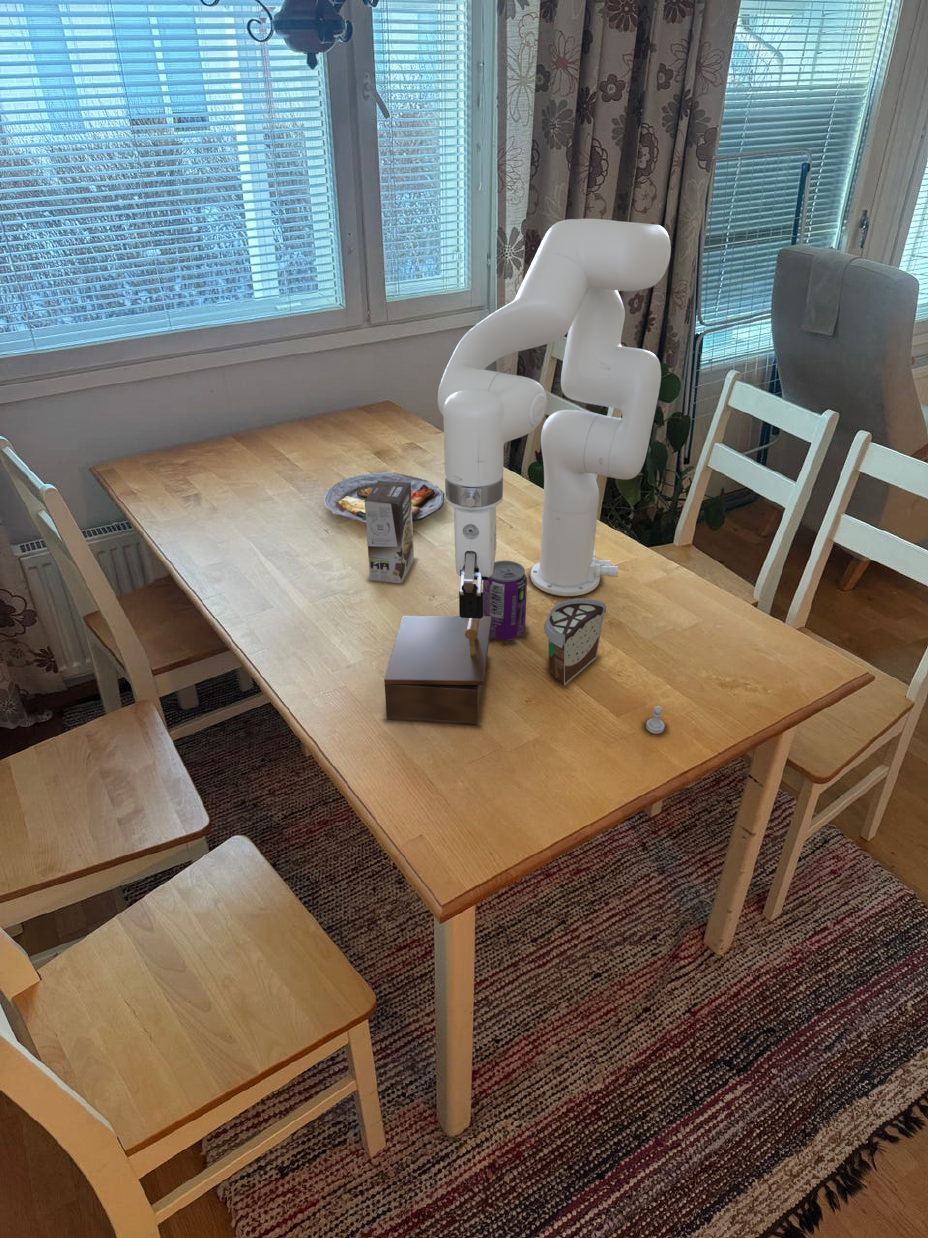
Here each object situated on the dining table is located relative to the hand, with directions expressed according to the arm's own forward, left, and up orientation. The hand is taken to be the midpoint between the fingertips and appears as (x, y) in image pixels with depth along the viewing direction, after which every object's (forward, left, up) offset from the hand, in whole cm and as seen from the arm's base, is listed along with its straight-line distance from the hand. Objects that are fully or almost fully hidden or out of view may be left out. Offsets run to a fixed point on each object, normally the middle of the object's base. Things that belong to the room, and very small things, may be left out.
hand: (474, 597), depth 120 cm
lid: (+5, 0, -9) cm, 11 cm away
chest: (+5, 0, -17) cm, 17 cm away
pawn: (-27, +6, -17) cm, 32 cm away
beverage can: (-4, -16, -17) cm, 23 cm away
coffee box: (+18, -34, -17) cm, 42 cm away
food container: (-14, -8, -17) cm, 23 cm away
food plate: (+24, -60, -17) cm, 67 cm away
